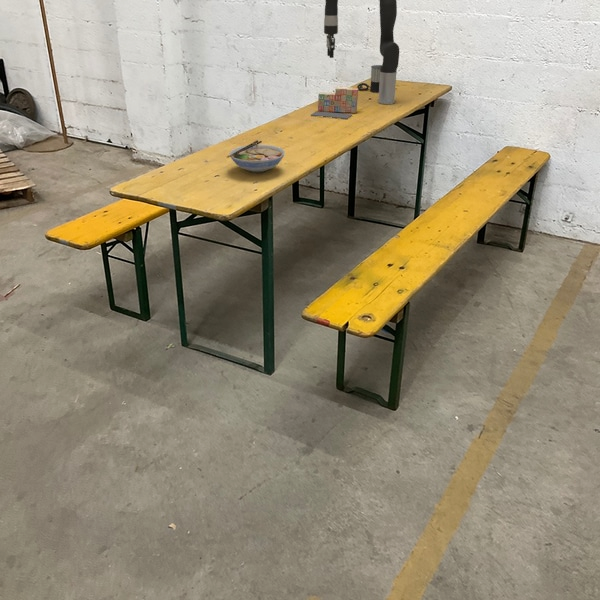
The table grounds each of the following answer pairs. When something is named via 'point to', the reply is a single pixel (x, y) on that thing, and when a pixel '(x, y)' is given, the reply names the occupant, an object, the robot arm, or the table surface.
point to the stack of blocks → (339, 100)
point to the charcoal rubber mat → (331, 115)
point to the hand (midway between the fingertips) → (330, 56)
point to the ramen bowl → (257, 156)
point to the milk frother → (373, 79)
